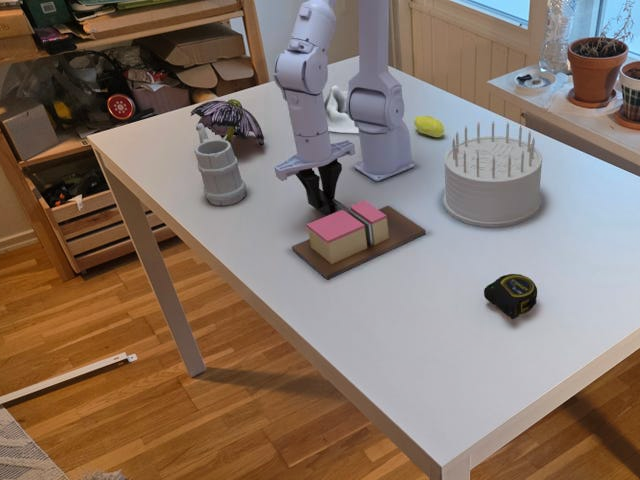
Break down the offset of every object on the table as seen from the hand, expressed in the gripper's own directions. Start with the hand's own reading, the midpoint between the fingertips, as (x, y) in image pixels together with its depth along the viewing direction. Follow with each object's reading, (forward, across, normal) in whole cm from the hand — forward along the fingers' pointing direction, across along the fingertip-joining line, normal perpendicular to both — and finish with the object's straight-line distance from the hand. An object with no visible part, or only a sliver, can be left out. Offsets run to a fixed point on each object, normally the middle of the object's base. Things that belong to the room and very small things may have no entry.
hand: (323, 203), depth 115 cm
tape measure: (+3, -7, +41) cm, 42 cm away
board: (+3, 0, +11) cm, 11 cm away
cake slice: (+2, -2, +11) cm, 12 cm away
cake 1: (+2, +4, +11) cm, 12 cm away
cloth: (+3, -26, -36) cm, 45 cm away
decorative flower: (+3, 0, -36) cm, 36 cm away
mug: (+3, +10, -21) cm, 23 cm away
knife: (+1, 0, +5) cm, 6 cm away
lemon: (+3, -35, -14) cm, 38 cm away
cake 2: (+3, -26, +16) cm, 31 cm away
